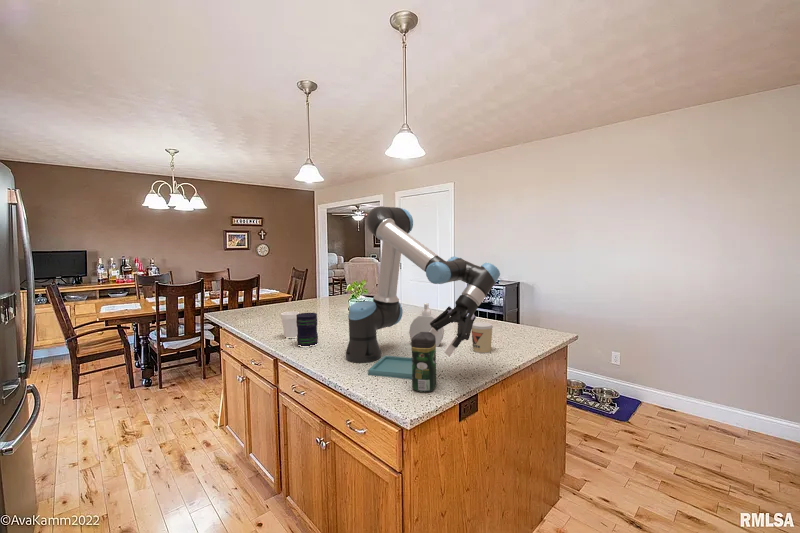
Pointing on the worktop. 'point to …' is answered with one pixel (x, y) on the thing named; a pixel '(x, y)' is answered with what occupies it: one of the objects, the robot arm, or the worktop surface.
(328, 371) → the worktop surface
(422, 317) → the soap bottle
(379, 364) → the tray
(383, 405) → the worktop surface
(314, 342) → the storage jar
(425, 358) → the coffee jar
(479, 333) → the coffee cup
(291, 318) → the foam cup
